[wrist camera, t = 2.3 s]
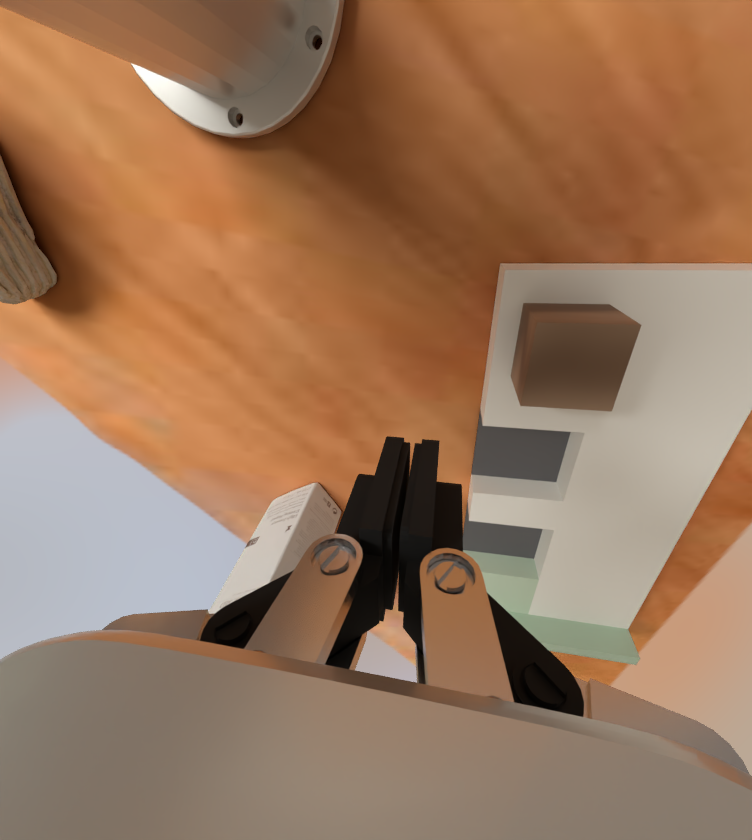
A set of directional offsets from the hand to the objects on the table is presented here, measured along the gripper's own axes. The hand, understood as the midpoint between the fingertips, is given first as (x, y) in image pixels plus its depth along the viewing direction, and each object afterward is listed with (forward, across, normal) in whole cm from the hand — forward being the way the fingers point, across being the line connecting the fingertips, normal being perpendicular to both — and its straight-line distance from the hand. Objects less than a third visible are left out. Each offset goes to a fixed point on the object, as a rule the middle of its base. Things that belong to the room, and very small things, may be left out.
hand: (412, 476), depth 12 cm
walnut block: (+13, -7, 0) cm, 15 cm away
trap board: (+16, -11, +10) cm, 22 cm away
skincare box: (+16, +11, +17) cm, 26 cm away
